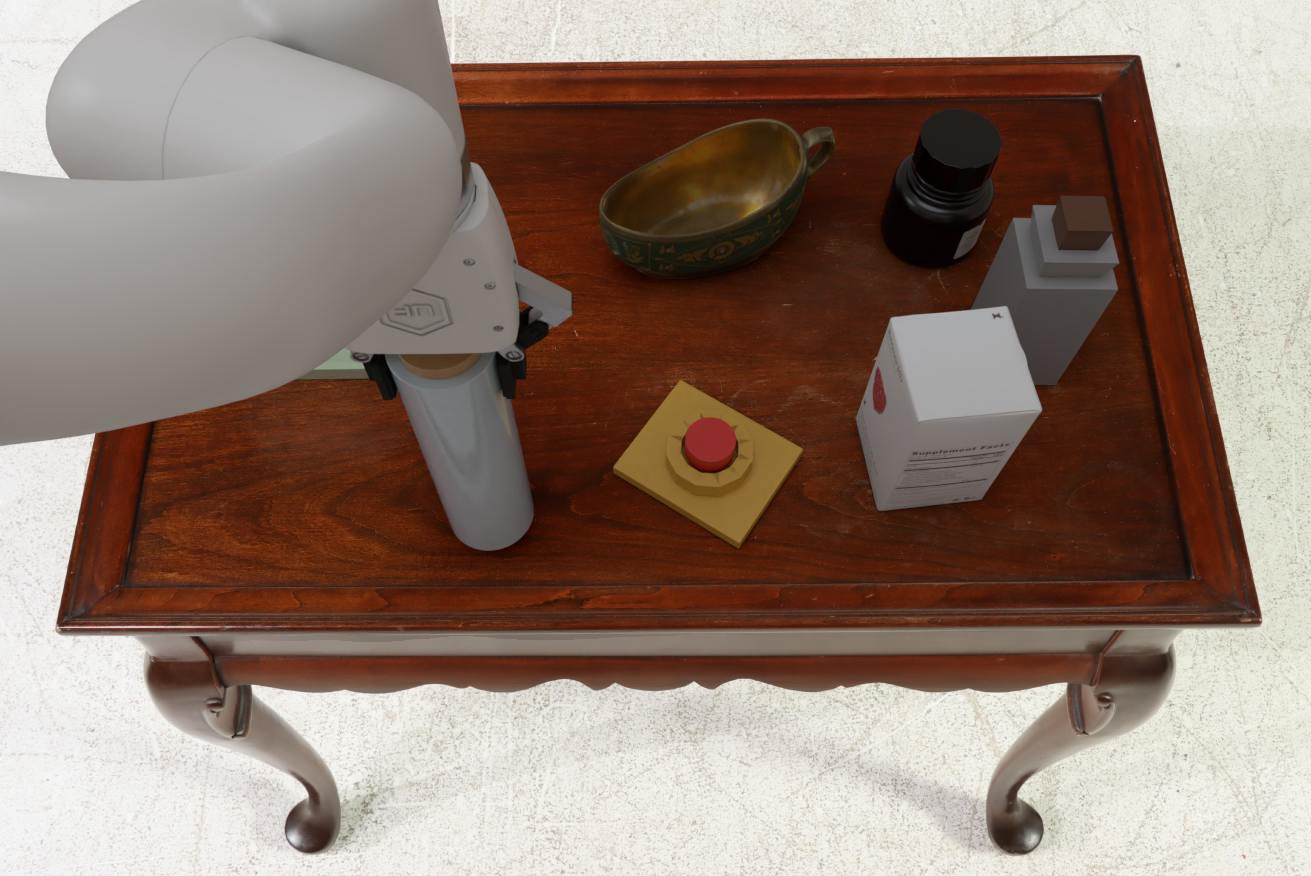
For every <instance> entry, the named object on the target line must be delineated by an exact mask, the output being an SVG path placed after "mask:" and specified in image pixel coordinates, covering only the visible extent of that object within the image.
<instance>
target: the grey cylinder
mask: <svg viewBox="0 0 1311 876" xmlns="http://www.w3.org/2000/svg"><path fill="white" fill-rule="evenodd" d="M385 358H386V361H387V364H388V367H389V369H390V372H391V375H392V377H393V380H394V382H395V385H396V387H397V393H398V395H399V397H400V400H401V403H402V405H403V408H404V410H405V413H406V415H407V418H408V420H409V423H410V426H411V429H412V431H413V433H414V436H415V438H416V441H417V443H418V446H419V448H420V451H421V454H422V456H423V459H424V462H425V464H426V466H427V469H428V472H429V475H430V476H431V479H432V482H433V485H434V487H435V490H436V492H437V495H438V497H439V501H440V503H441V505H442V507H443V510H444V513H445V515H446V518H447V520H448V523H449V525H450V527H451V530H452V532H453V534H454V535H455V537H456V538H457V539H458V540H459V541H460V542H461V543H463V544H464V545H466V546H468V547H469V548H472V549H475V550H479V551H489V552H490V551H498V550H503V549H505V548H508V547H510V546H512V545H514V544H515V543H517V542H518V541H519V540H520V539H521V538H522V537H523V536H524V535H525V534H526V533H527V532H528V531H529V529H530V526H531V525H532V522H533V520H534V515H535V506H534V505H535V504H534V500H533V495H532V490H531V485H530V481H529V476H528V472H527V467H526V462H525V458H524V457H525V456H524V453H523V449H522V443H521V439H520V435H519V434H520V433H519V430H518V429H519V428H518V424H517V420H516V416H515V411H514V406H513V402H512V399H506V397H503V393H502V389H501V385H500V380H499V376H498V371H497V366H496V359H497V351H495V352H488V353H462V354H385Z"/></svg>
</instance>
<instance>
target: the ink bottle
mask: <svg viewBox="0 0 1311 876" xmlns="http://www.w3.org/2000/svg"><path fill="white" fill-rule="evenodd" d="M1002 146H1003V140H1002V137H1001V133H1000V130H999V128H997V127H996V125H994V123H993V122H992V120H990V119H989V118H987V117H985V116H983V115H981V114H980V113H979V112H976V111H973V110H968V109H964V108H946V109H942V110H940V111H938V112H935V113H931V115H930V116H929V117H928V118H927V119H925V120H924V121H923V122H922V123H921V128H920V131H919V134H918V138H917V141H916V144H915V146H914V147H915V148H914V151H913V152H910V154H908V155H907V156H905V158H904V159H902V160H901V161H900V163H898V166H897V167H896V169H895V171H894V174H893V177H892V180H891V184H890V187H889V191H888V195H887V197H886V201H885V203H884V204H885V205H884V208H883V211H882V215H881V219H880V220H881V222H880V225H881V226H880V228H881V233H882V237H883V238H884V239H883V240H884V241H885V243H886V245H887V246H888V247H889V249H890V251H892V252H893V254H895V255H896V256H898V257H899V258H901V259H903V260H905V261H906V262H908V263H911V264H914V265H919V266H923V267H945V266H949V265H953V264H956V263H958V262H960V261H962V260H963V259H965V258H966V257H967V256H968V255H969V254H970V253H971V252H972V250H973V248H974V247H975V245H976V243H977V241H978V239H979V236H980V233H981V232H982V229H983V227H984V225H985V223H986V220H987V218H988V216H989V212H990V210H991V208H992V205H993V203H994V197H995V185H994V181H993V178H992V173H993V171H994V169H995V166H996V164H997V161H998V159H999V157H1000V155H1001V149H1002Z"/></svg>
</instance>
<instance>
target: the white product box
mask: <svg viewBox="0 0 1311 876" xmlns="http://www.w3.org/2000/svg"><path fill="white" fill-rule="evenodd" d="M877 353H878V354H877V356H876V359H875V362H874V365H873V367H872V371H871V374H870V376H869V379H868V382H867V385H866V388H865V391H864V394H863V396H862V399H861V402H860V405H859V408H858V411H857V414H856V416H855V422H856V426H857V431H858V435H859V439H860V443H861V448H862V453H863V455H864V456H863V457H864V460H865V465H866V470H867V473H868V477H869V482H870V486H871V490H872V495H873V499H874V503H875V508H876V510H877V511H879V512H885V511H894V510H904V509H913V508H920V507H930V506H938V505H939V506H940V505H947V504H954V503H955V504H956V503H965V502H973V501H981V500H983V499H984V496H985V495H986V494H987V492H988V491H989V489H990V488H991V486H992V485H993V483H994V482H995V480H996V479H997V477H998V476H999V474H1000V473H1001V471H1002V469H1004V467H1005V466H1006V464H1007V462H1008V461H1009V459H1010V458H1011V457H1012V455H1013V453H1014V452H1015V451H1016V450H1017V447H1018V446H1019V444H1020V443H1021V441H1022V440H1023V438H1024V437H1025V436H1026V435H1027V433H1028V431H1029V430H1030V428H1031V427H1032V425H1033V424H1034V422H1035V421H1036V420H1037V418H1038V417H1039V415H1040V414H1041V413H1042V412H1043V407H1042V404H1041V401H1040V399H1039V396H1038V392H1037V390H1036V387H1035V386H1036V385H1034V383H1033V380H1032V378H1031V375H1030V372H1029V369H1028V365H1027V359H1026V356H1025V353H1024V351H1023V349H1022V347H1021V345H1020V342H1019V339H1018V336H1017V333H1016V330H1015V327H1014V324H1013V321H1012V318H1011V315H1010V312H1009V309H1008V307H1007V306H1002V307H994V308H985V309H975V310H971V309H967V310H956V311H945V312H935V313H932V312H931V313H919V314H918V313H917V314H909V315H901V316H892V317H890V319H889V322H888V324H887V328H886V330H885V333H884V337H883V339H882V341H881V344H880V347H879V350H878V352H877Z"/></svg>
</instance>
